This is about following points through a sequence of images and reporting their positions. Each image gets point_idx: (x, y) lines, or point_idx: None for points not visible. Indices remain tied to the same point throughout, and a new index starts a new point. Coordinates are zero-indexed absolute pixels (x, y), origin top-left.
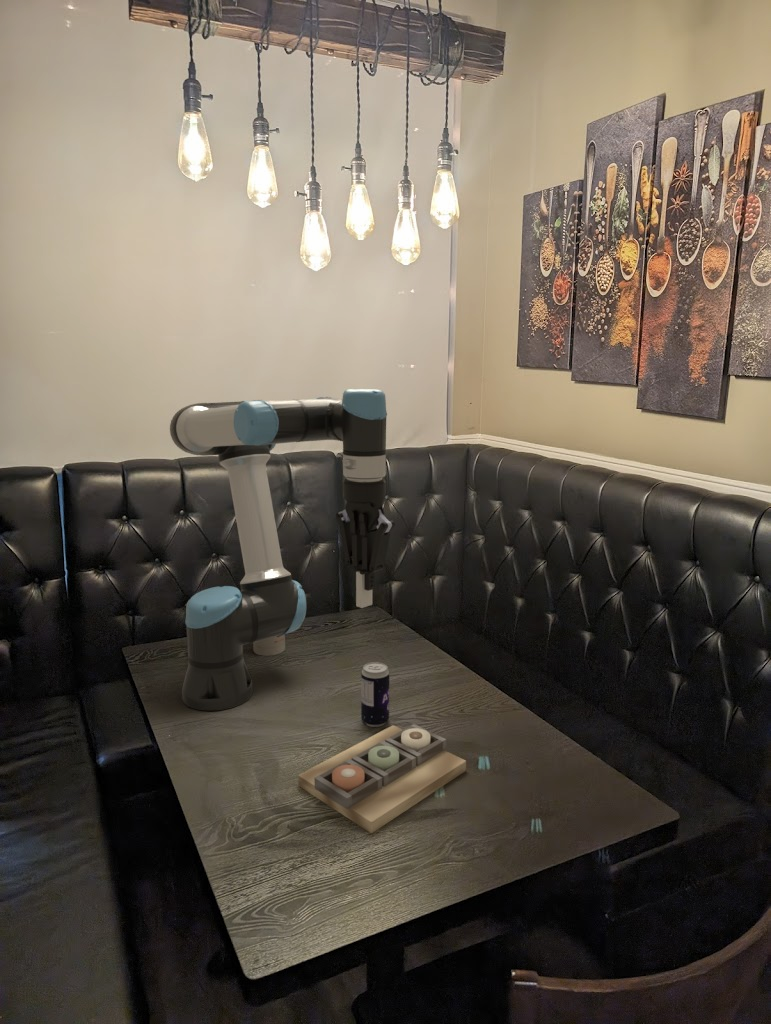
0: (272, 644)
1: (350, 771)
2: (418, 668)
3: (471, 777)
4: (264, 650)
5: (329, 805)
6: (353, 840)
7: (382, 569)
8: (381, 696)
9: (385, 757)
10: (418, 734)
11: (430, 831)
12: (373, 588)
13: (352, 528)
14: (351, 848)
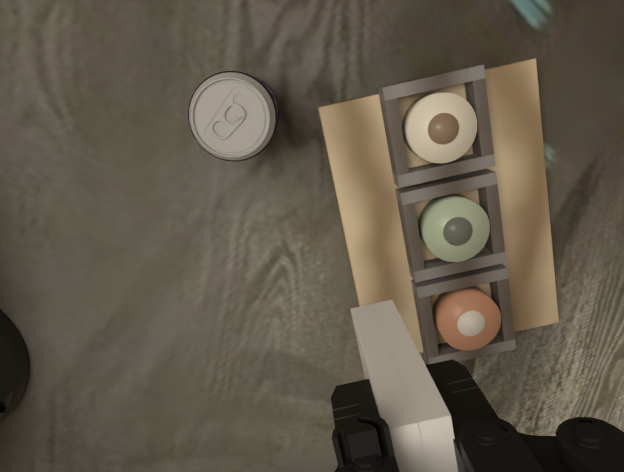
0: None
1: (470, 318)
2: None
3: (548, 65)
4: None
5: None
6: (542, 342)
7: (589, 417)
8: (277, 119)
9: (471, 235)
10: (446, 122)
11: (607, 233)
12: (456, 364)
13: None
14: (554, 352)
